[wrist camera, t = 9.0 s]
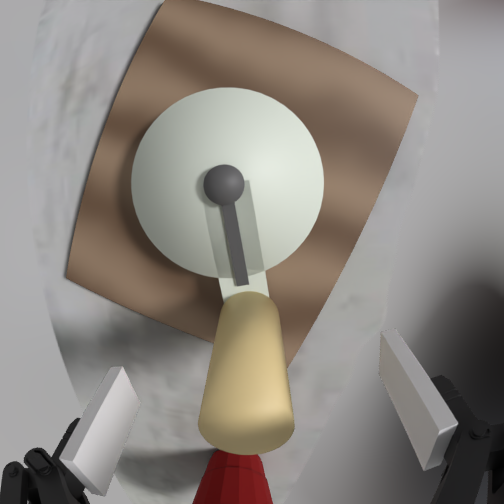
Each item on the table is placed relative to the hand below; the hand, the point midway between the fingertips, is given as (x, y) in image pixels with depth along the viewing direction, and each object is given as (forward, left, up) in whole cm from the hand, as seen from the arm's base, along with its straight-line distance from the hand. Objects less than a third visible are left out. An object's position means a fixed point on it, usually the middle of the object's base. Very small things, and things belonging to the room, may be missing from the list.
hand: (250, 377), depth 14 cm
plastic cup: (+21, +7, -10) cm, 24 cm away
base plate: (-7, -5, -10) cm, 13 cm away
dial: (-5, -3, -9) cm, 11 cm away
